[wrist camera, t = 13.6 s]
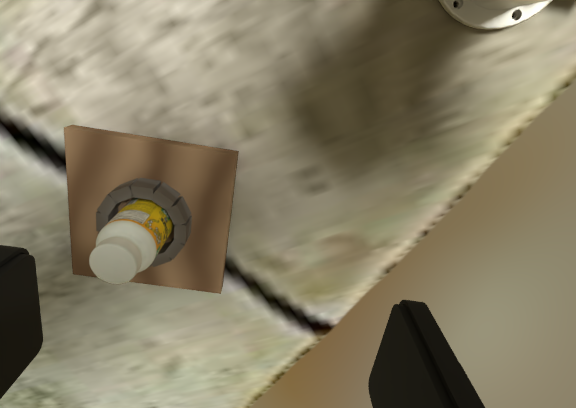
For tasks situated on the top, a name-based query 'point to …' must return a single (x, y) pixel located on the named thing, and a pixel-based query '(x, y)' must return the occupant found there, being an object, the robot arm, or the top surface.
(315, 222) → the top surface
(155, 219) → the supplement bottle
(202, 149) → the collar board
